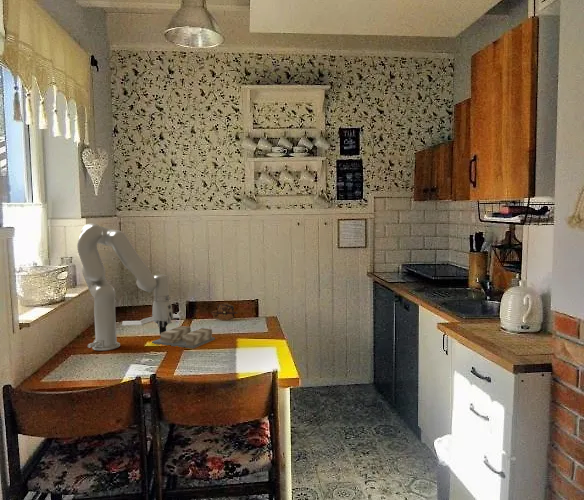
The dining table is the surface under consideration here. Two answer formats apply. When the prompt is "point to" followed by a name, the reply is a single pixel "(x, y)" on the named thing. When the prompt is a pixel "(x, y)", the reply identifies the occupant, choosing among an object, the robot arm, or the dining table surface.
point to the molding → (148, 320)
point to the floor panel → (182, 343)
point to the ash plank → (174, 334)
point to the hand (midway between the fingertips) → (162, 334)
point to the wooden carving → (224, 312)
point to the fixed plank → (197, 336)
